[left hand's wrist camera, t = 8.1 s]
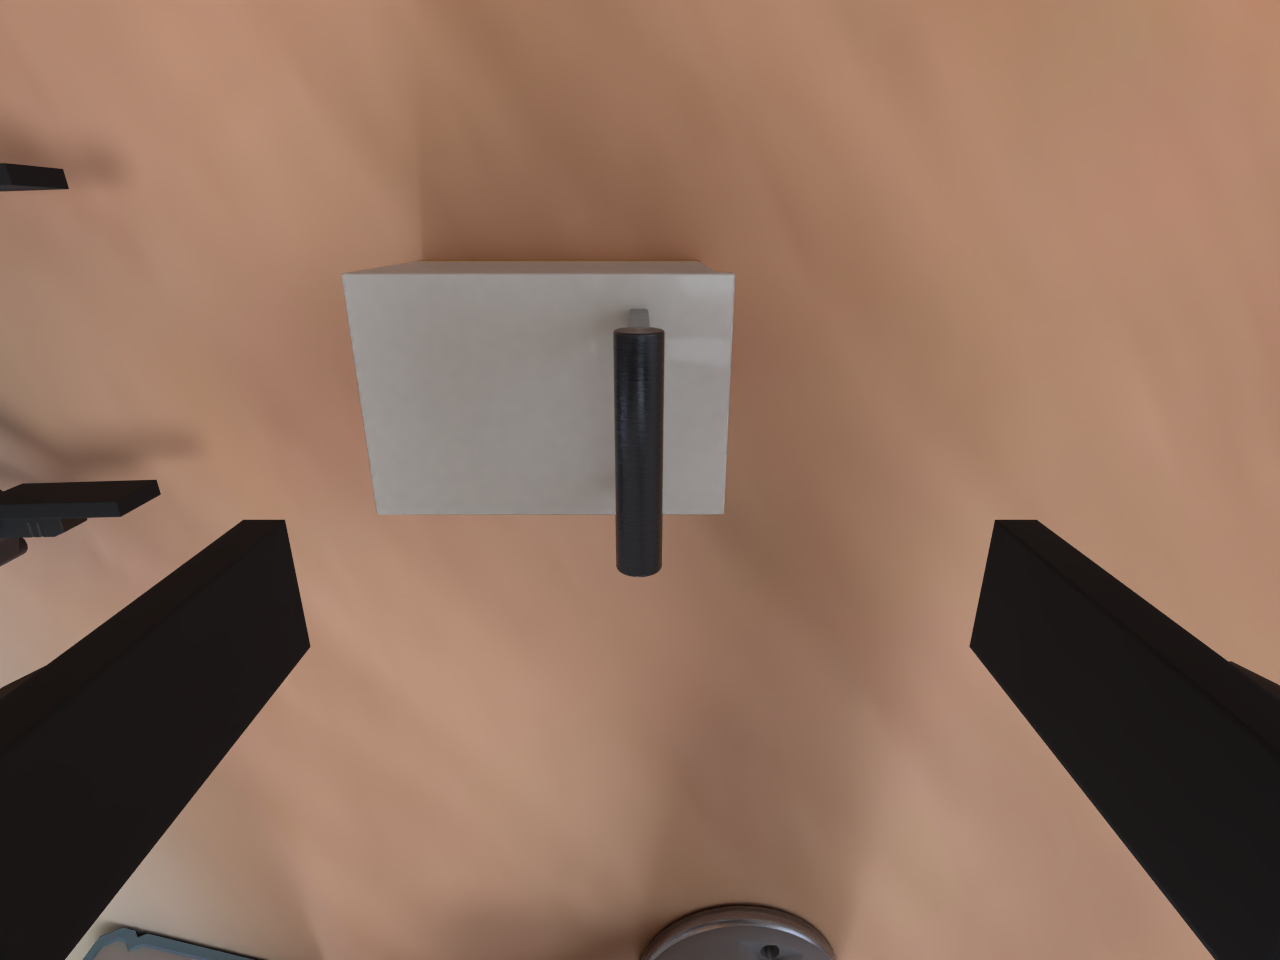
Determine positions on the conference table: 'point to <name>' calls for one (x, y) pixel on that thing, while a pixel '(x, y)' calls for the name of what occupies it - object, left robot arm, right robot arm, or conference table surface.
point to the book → (150, 948)
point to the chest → (547, 266)
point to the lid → (547, 395)
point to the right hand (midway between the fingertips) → (94, 350)
